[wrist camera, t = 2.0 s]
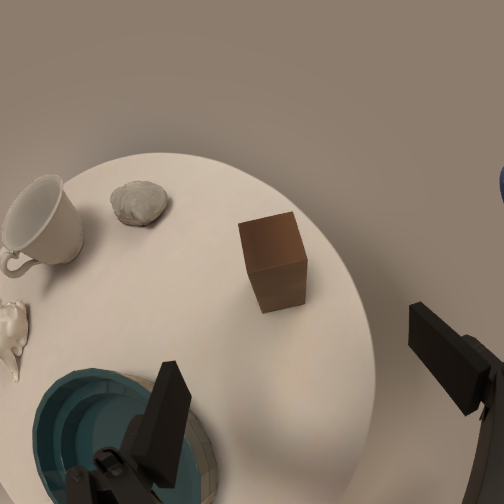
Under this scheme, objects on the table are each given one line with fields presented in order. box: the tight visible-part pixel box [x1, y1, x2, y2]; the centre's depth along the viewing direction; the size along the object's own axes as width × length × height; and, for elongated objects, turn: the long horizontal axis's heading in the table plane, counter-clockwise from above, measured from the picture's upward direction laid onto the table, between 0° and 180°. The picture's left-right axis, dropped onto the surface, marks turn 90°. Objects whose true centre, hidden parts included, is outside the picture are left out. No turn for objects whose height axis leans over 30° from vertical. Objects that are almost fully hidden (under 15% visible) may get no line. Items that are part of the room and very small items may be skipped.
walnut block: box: [238, 212, 308, 313], centre depth 27 cm, size 4×4×10 cm
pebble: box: [110, 181, 168, 226], centre depth 38 cm, size 9×8×5 cm
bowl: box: [32, 368, 217, 504], centre depth 22 cm, size 20×20×6 cm
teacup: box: [0, 174, 83, 278], centre depth 34 cm, size 12×15×10 cm
